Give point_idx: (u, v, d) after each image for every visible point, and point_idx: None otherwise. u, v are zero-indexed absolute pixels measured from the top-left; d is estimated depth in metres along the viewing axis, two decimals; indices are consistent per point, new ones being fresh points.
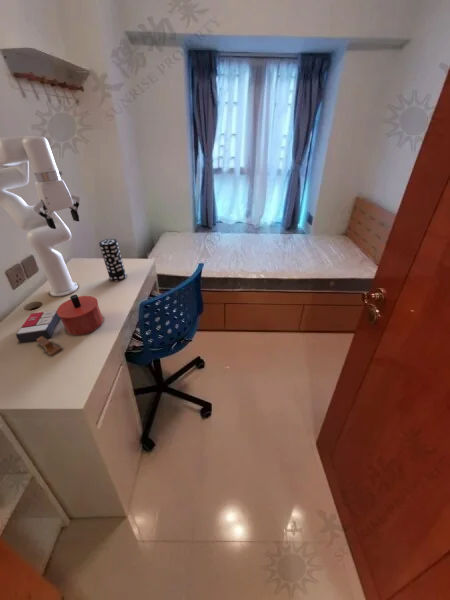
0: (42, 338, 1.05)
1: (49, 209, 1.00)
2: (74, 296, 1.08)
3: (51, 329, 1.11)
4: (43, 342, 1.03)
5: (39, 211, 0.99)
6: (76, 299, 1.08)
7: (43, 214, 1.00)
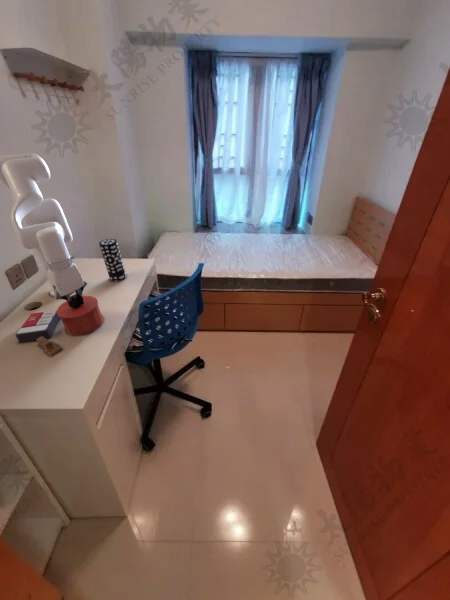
0: (42, 338, 1.05)
1: (61, 294, 1.02)
2: (74, 296, 1.08)
3: (51, 329, 1.11)
4: (43, 342, 1.03)
5: (60, 297, 1.03)
6: (76, 299, 1.08)
7: (65, 298, 1.04)
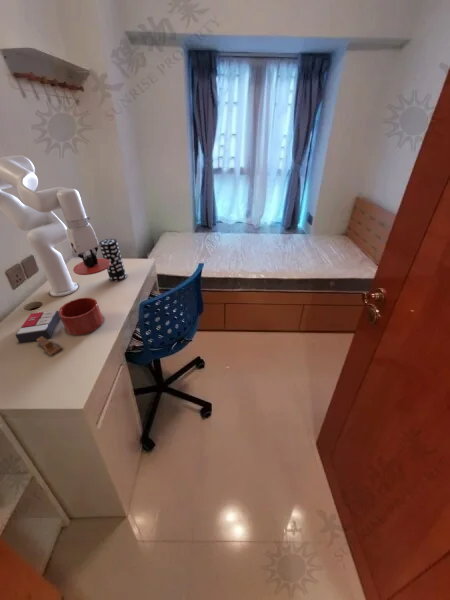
0: (42, 338, 1.05)
1: (78, 251, 1.11)
2: (89, 255, 1.18)
3: (51, 329, 1.11)
4: (43, 342, 1.03)
5: (77, 255, 1.13)
6: (91, 258, 1.18)
7: (81, 256, 1.14)
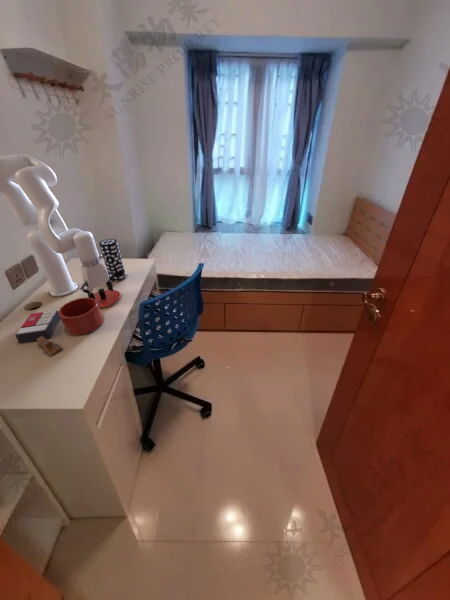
0: (42, 338, 1.05)
1: (91, 287, 1.21)
2: (101, 289, 1.27)
3: (51, 329, 1.11)
4: (43, 342, 1.03)
5: (83, 289, 1.20)
6: (103, 292, 1.27)
7: (86, 291, 1.21)
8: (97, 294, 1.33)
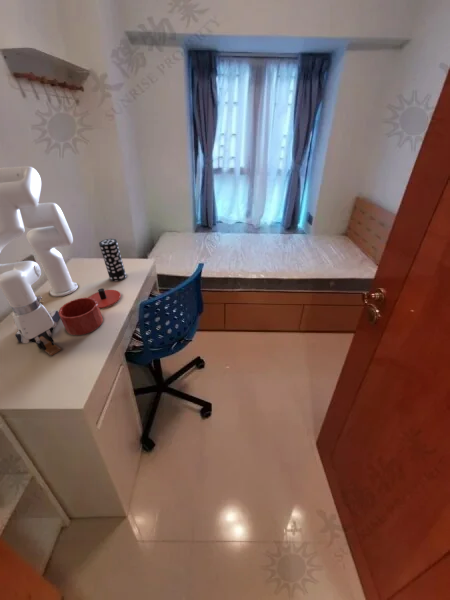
0: (42, 338, 1.05)
1: (27, 338, 0.96)
2: (101, 289, 1.27)
3: None
4: (43, 342, 1.03)
5: (28, 340, 0.97)
6: (103, 292, 1.27)
7: (33, 340, 0.99)
8: (97, 294, 1.33)
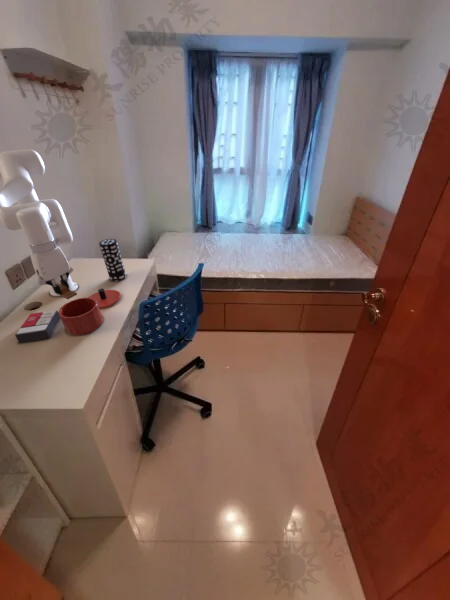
0: (58, 284, 1.05)
1: (45, 278, 0.96)
2: (101, 289, 1.27)
3: (51, 329, 1.11)
4: None
5: (45, 282, 0.98)
6: (103, 292, 1.27)
7: (49, 283, 0.99)
8: (97, 294, 1.33)
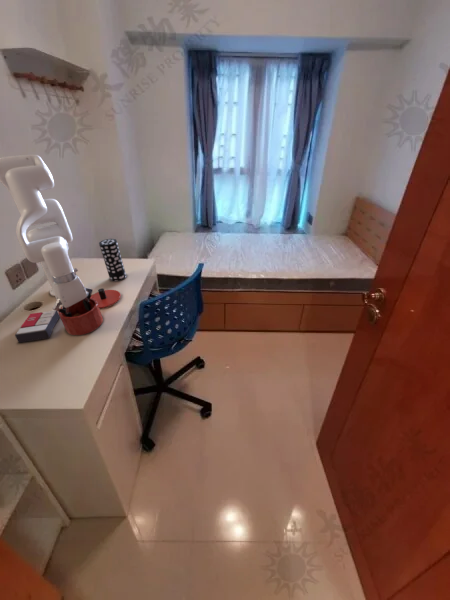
0: (78, 314, 1.16)
1: (65, 306, 1.05)
2: (101, 289, 1.27)
3: (51, 329, 1.11)
4: None
5: (58, 309, 1.05)
6: (103, 292, 1.27)
7: (62, 311, 1.06)
8: (97, 294, 1.33)
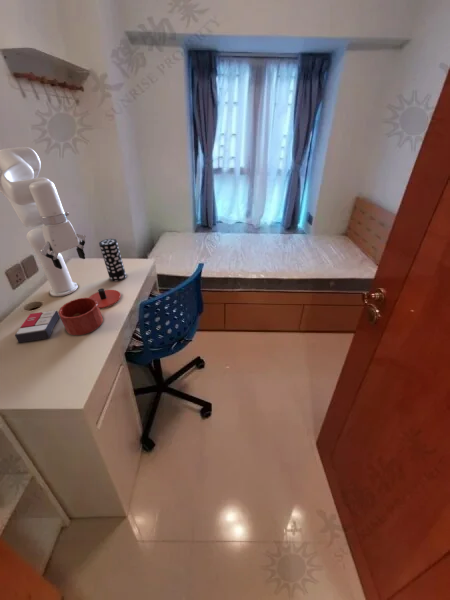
0: (78, 314, 1.16)
1: (55, 251, 1.00)
2: (101, 289, 1.27)
3: (51, 329, 1.11)
4: None
5: (45, 253, 0.99)
6: (103, 292, 1.27)
7: (49, 256, 1.00)
8: (97, 294, 1.33)
